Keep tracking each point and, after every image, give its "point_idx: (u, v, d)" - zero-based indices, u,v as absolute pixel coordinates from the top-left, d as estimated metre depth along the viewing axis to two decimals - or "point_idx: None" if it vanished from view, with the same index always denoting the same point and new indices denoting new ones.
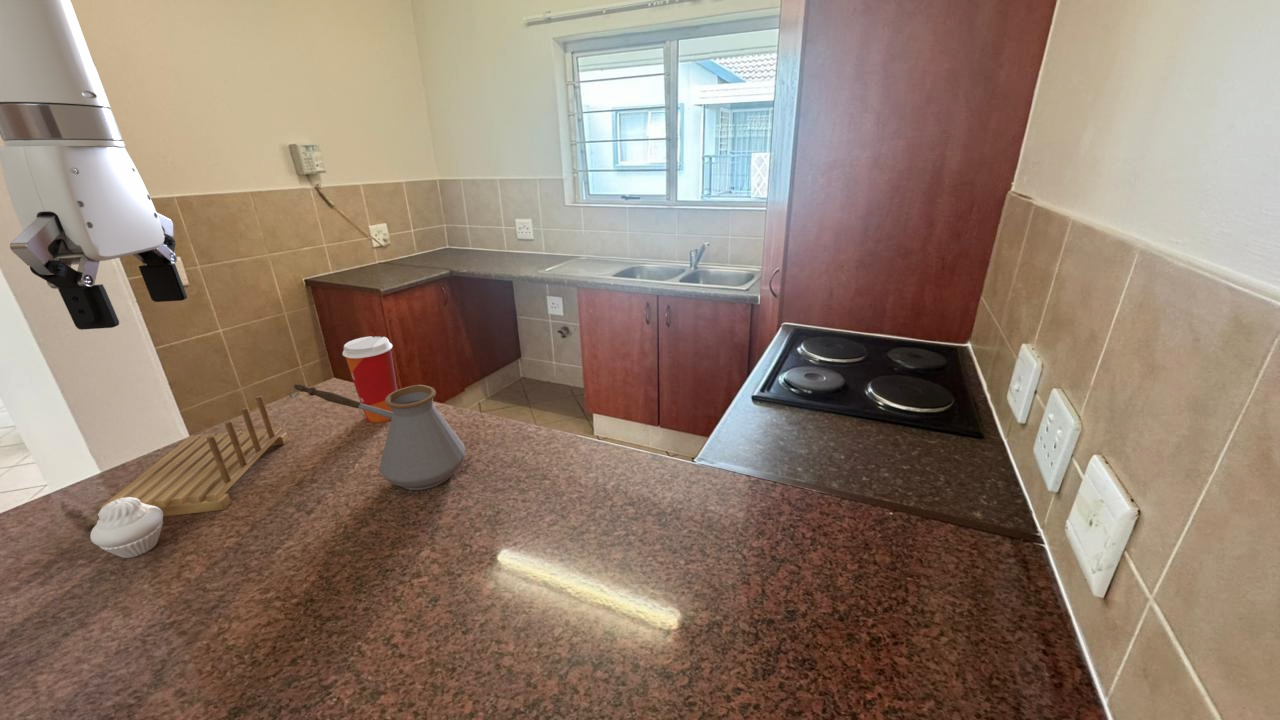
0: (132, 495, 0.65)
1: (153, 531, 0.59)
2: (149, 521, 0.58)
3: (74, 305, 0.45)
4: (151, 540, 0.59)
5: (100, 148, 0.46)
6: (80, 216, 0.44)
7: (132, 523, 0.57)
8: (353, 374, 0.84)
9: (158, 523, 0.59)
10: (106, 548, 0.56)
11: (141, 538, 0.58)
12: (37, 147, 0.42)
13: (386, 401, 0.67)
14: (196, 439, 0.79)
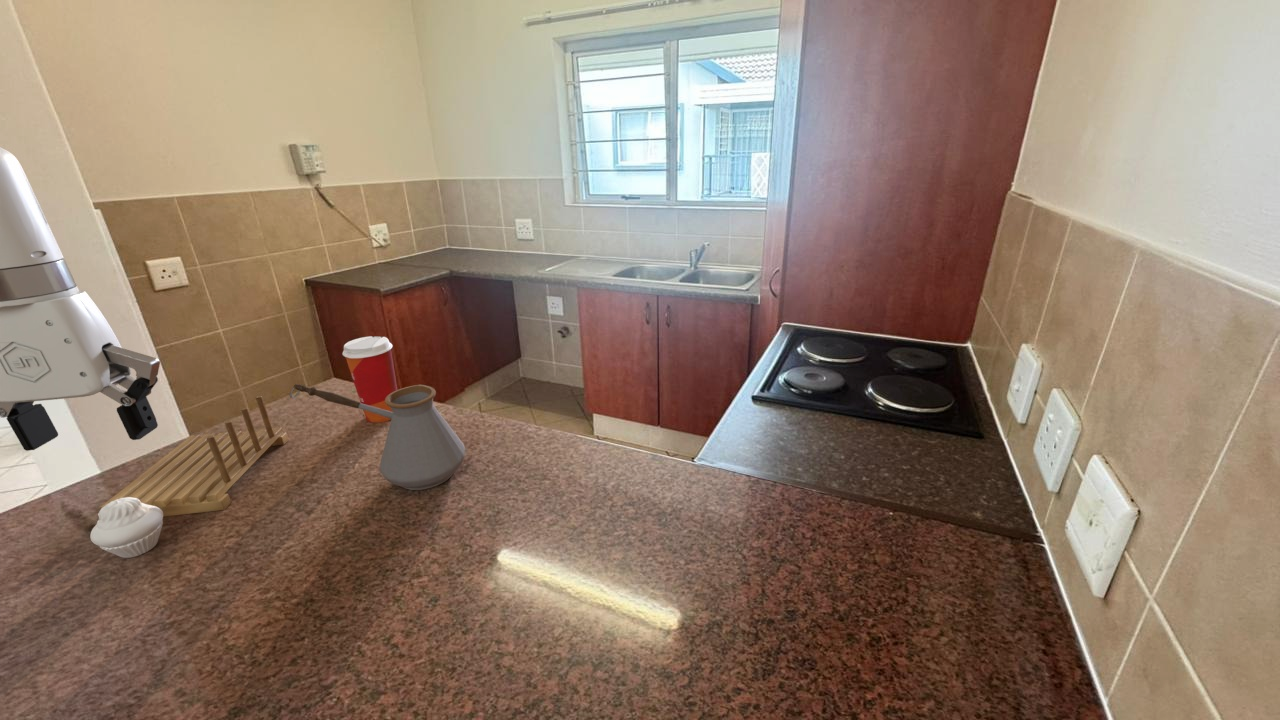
0: (132, 495, 0.65)
1: (153, 531, 0.59)
2: (149, 521, 0.58)
3: (144, 414, 0.54)
4: (151, 540, 0.59)
5: None
6: None
7: (132, 523, 0.57)
8: (353, 374, 0.84)
9: (158, 523, 0.59)
10: (106, 548, 0.56)
11: (141, 538, 0.58)
12: (82, 293, 0.50)
13: (386, 401, 0.67)
14: (196, 439, 0.79)
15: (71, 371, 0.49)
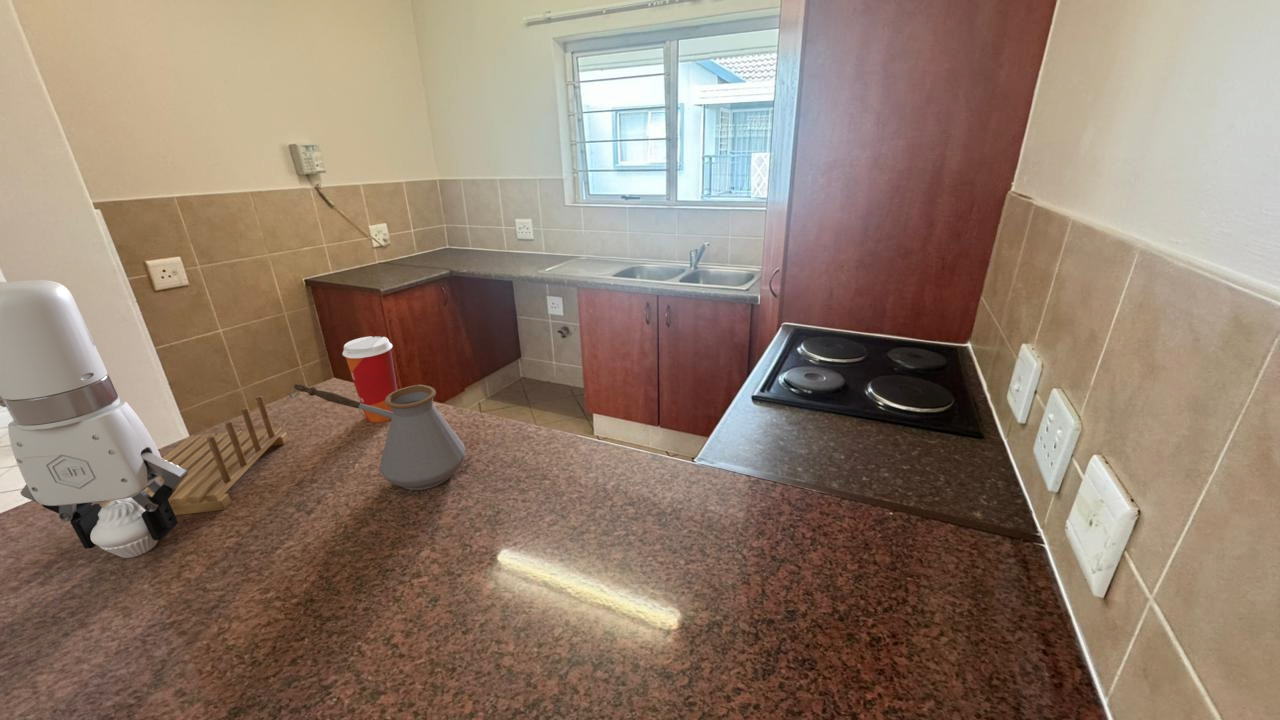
0: None
1: None
2: None
3: (166, 516, 0.59)
4: (151, 540, 0.59)
5: None
6: None
7: (132, 523, 0.57)
8: (353, 374, 0.84)
9: None
10: (106, 548, 0.56)
11: (141, 538, 0.58)
12: (123, 405, 0.54)
13: (386, 401, 0.67)
14: (196, 439, 0.79)
15: (113, 478, 0.54)
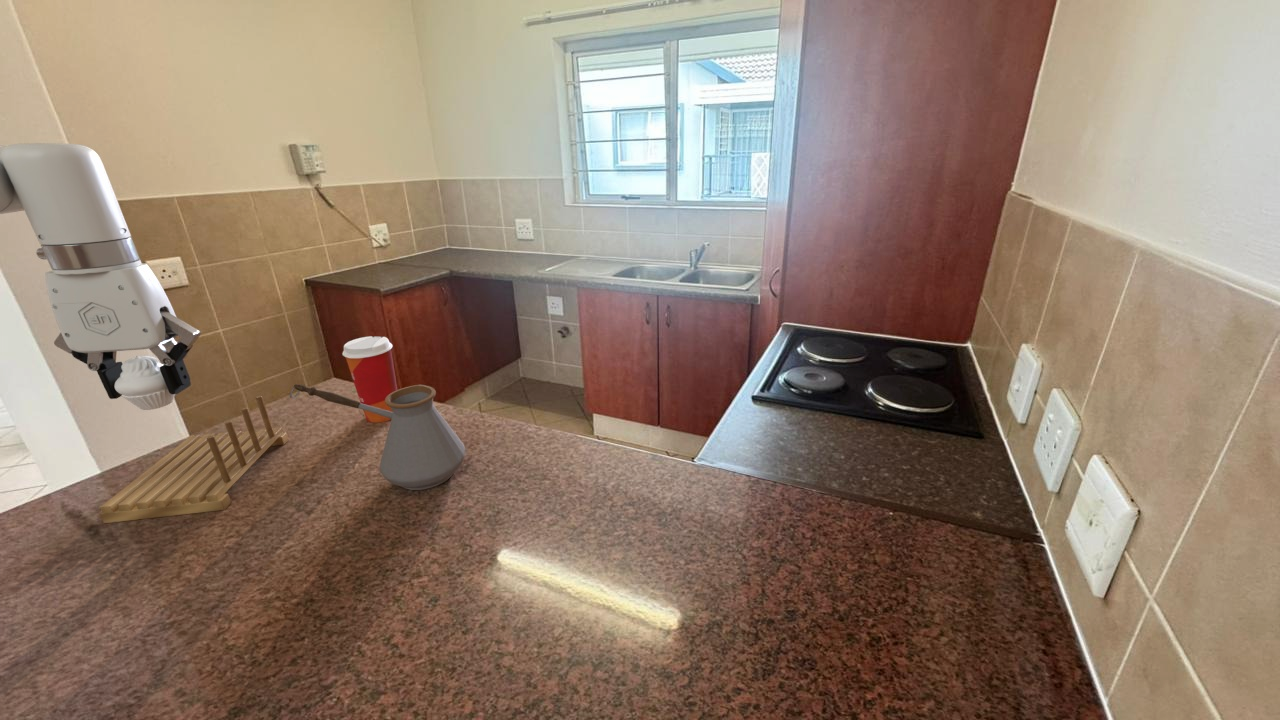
0: (132, 495, 0.65)
1: None
2: None
3: (181, 373, 0.66)
4: (168, 395, 0.66)
5: None
6: None
7: (151, 376, 0.64)
8: (353, 374, 0.84)
9: None
10: (128, 396, 0.64)
11: (159, 391, 0.65)
12: (145, 265, 0.62)
13: (386, 401, 0.67)
14: (196, 439, 0.79)
15: (136, 327, 0.61)
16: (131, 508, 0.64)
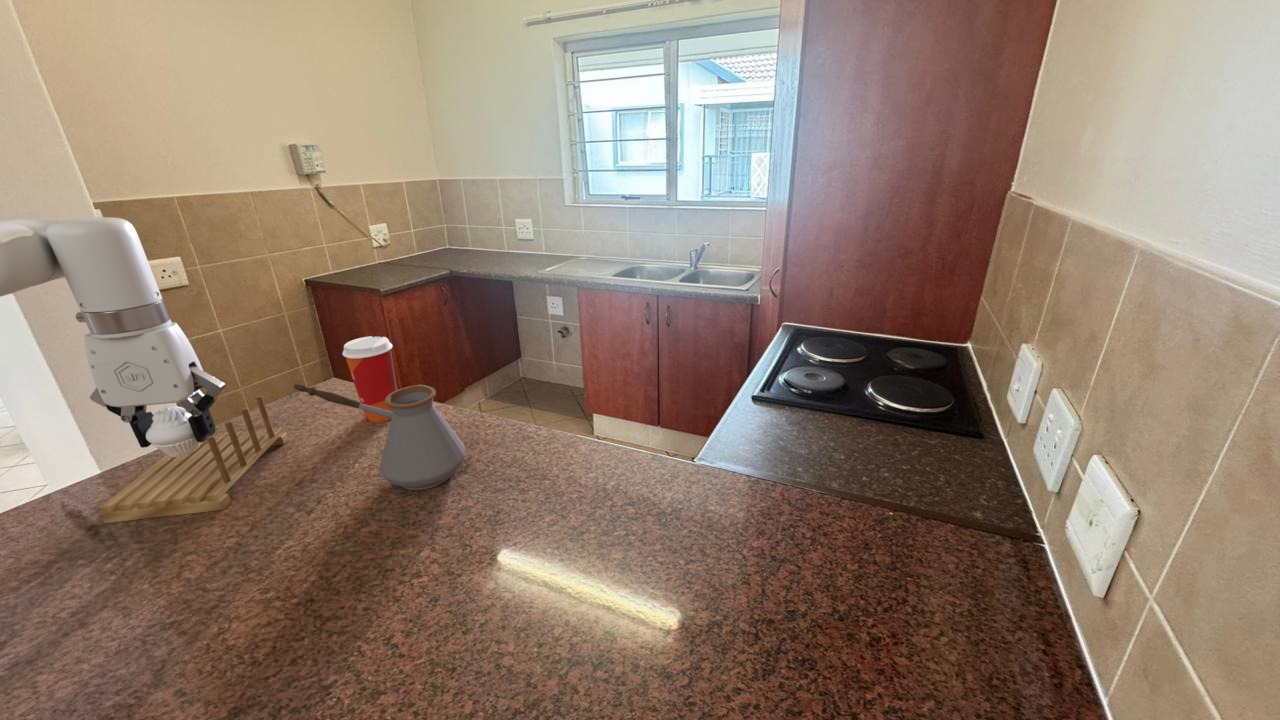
0: (132, 495, 0.65)
1: None
2: None
3: (207, 422, 0.70)
4: (194, 443, 0.71)
5: None
6: None
7: (180, 426, 0.69)
8: (353, 374, 0.84)
9: None
10: (159, 446, 0.68)
11: (187, 439, 0.69)
12: (175, 325, 0.66)
13: (386, 401, 0.67)
14: None
15: (167, 384, 0.65)
16: (131, 508, 0.64)
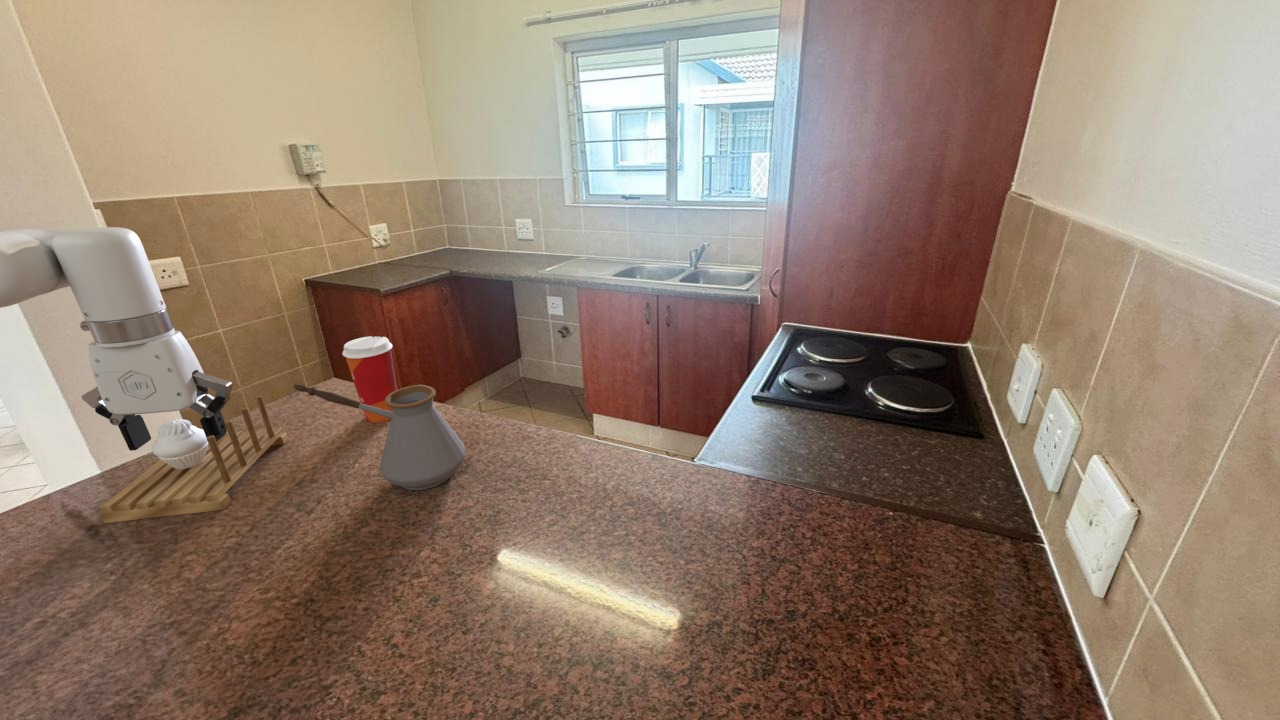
0: (132, 495, 0.65)
1: (202, 448, 0.71)
2: (199, 439, 0.71)
3: (219, 424, 0.70)
4: (200, 455, 0.71)
5: None
6: None
7: (185, 439, 0.69)
8: (353, 374, 0.84)
9: (205, 441, 0.72)
10: (165, 459, 0.69)
11: (192, 452, 0.70)
12: (178, 333, 0.66)
13: (386, 401, 0.67)
14: None
15: (171, 392, 0.66)
16: (131, 508, 0.64)
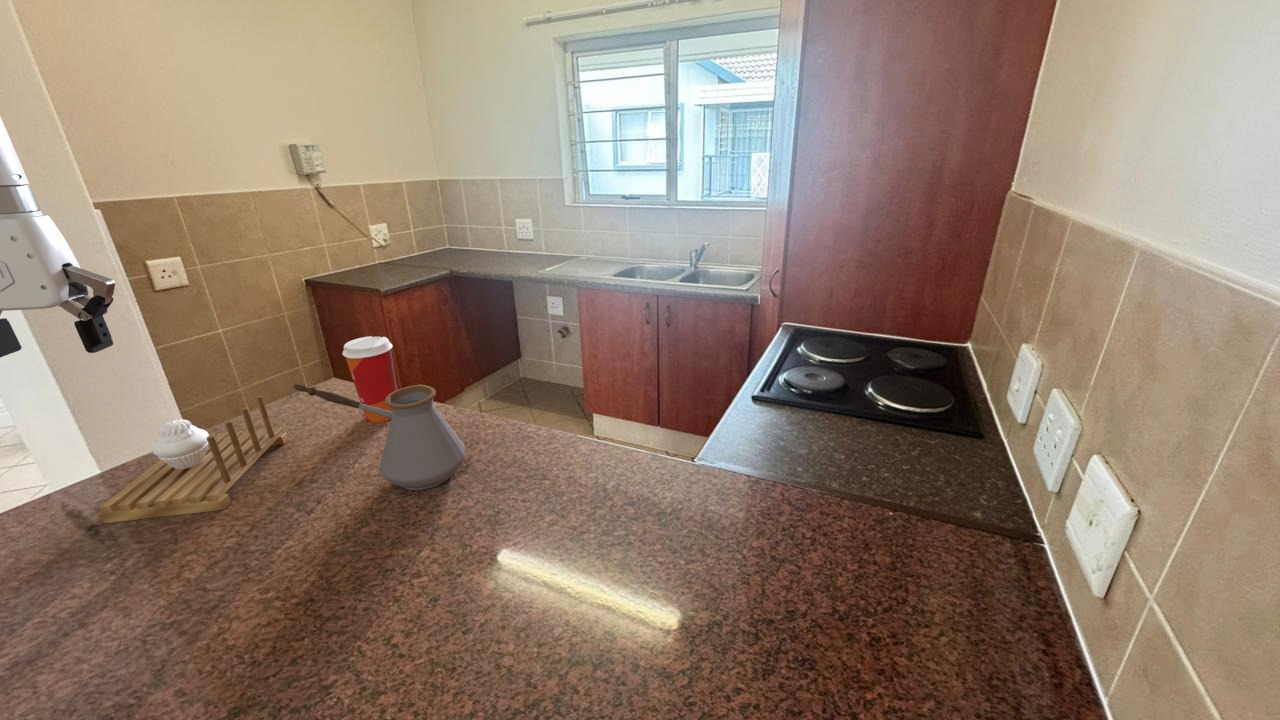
0: (132, 495, 0.65)
1: (202, 448, 0.71)
2: (199, 439, 0.71)
3: (100, 330, 0.60)
4: (200, 455, 0.71)
5: None
6: None
7: (185, 439, 0.69)
8: (353, 374, 0.84)
9: (205, 441, 0.72)
10: (165, 459, 0.69)
11: (192, 452, 0.70)
12: (45, 216, 0.56)
13: (386, 401, 0.67)
14: None
15: (33, 284, 0.55)
16: (131, 508, 0.64)
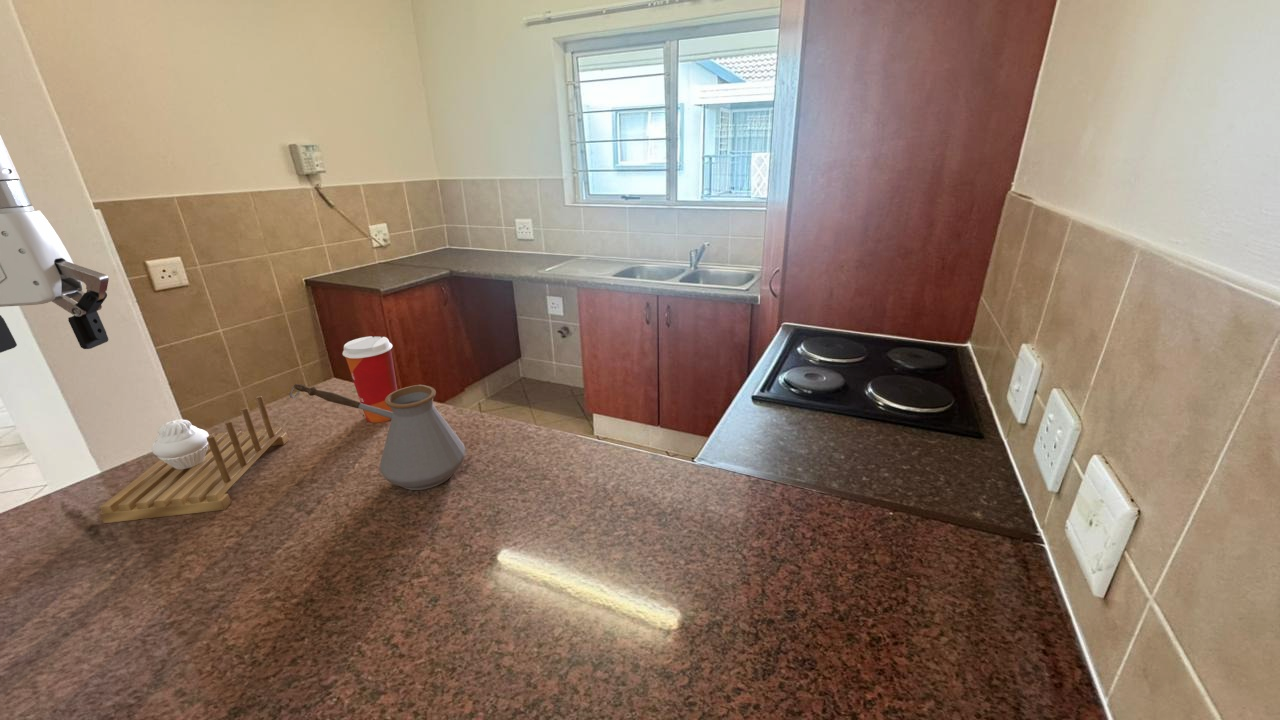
0: (132, 495, 0.65)
1: (202, 448, 0.71)
2: (199, 439, 0.71)
3: (94, 326, 0.60)
4: (200, 455, 0.71)
5: None
6: None
7: (185, 439, 0.69)
8: (353, 374, 0.84)
9: (205, 441, 0.72)
10: (165, 459, 0.69)
11: (192, 452, 0.70)
12: (36, 211, 0.56)
13: (386, 401, 0.67)
14: None
15: (25, 279, 0.55)
16: (131, 508, 0.64)
